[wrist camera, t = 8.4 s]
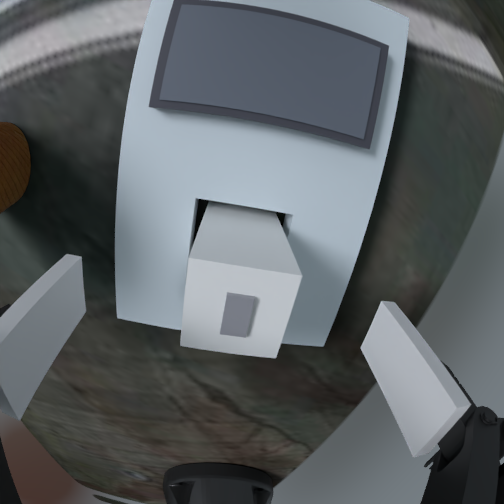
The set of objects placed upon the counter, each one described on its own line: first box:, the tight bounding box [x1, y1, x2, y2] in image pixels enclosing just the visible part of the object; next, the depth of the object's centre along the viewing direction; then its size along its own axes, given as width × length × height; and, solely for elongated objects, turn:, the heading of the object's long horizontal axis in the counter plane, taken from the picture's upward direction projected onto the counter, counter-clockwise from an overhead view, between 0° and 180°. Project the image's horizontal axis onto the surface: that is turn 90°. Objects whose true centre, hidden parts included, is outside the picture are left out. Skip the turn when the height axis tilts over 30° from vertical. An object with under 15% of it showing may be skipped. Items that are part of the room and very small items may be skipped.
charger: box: [180, 201, 302, 358], centre depth 15 cm, size 4×4×8 cm
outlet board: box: [115, 0, 409, 347], centre depth 16 cm, size 22×14×2 cm, turn 169°
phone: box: [149, 0, 389, 149], centre depth 12 cm, size 6×11×1 cm, turn 79°
